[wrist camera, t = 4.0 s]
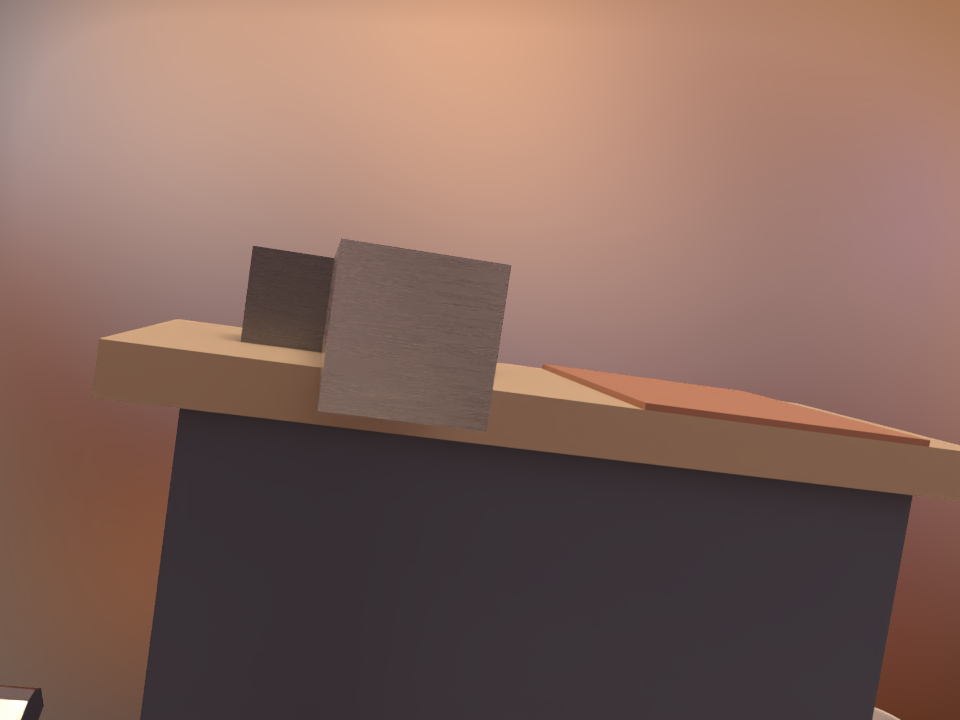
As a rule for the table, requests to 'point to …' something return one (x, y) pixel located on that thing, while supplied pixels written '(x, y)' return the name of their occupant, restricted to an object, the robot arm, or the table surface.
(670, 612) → the wood-topped grey cube
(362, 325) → the steel T-bar
